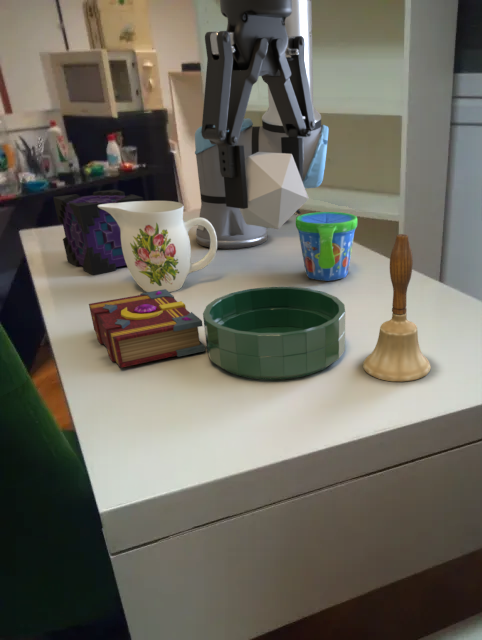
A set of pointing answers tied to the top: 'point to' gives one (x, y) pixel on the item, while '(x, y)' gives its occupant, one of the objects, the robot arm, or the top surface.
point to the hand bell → (398, 327)
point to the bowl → (275, 332)
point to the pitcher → (158, 242)
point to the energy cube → (92, 230)
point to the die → (272, 189)
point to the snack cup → (326, 243)
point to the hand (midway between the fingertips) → (266, 200)
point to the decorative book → (146, 328)
